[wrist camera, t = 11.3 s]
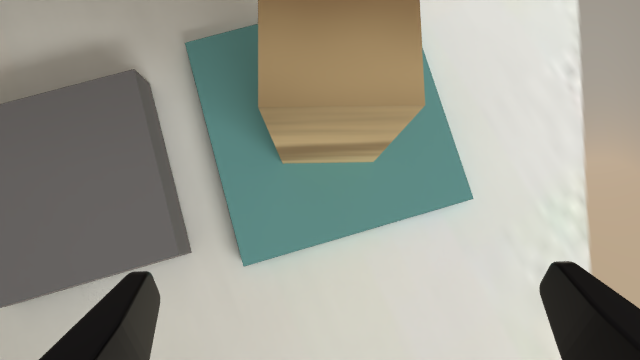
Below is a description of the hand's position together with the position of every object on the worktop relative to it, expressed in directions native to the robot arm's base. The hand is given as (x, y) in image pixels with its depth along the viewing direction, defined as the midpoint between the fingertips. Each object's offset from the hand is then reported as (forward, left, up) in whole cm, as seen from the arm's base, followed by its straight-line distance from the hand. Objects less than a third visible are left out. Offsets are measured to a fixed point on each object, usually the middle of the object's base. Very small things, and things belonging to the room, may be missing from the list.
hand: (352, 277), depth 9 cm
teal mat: (+4, -6, -13) cm, 15 cm away
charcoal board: (+14, +4, -13) cm, 19 cm away
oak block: (+4, -6, -12) cm, 14 cm away
